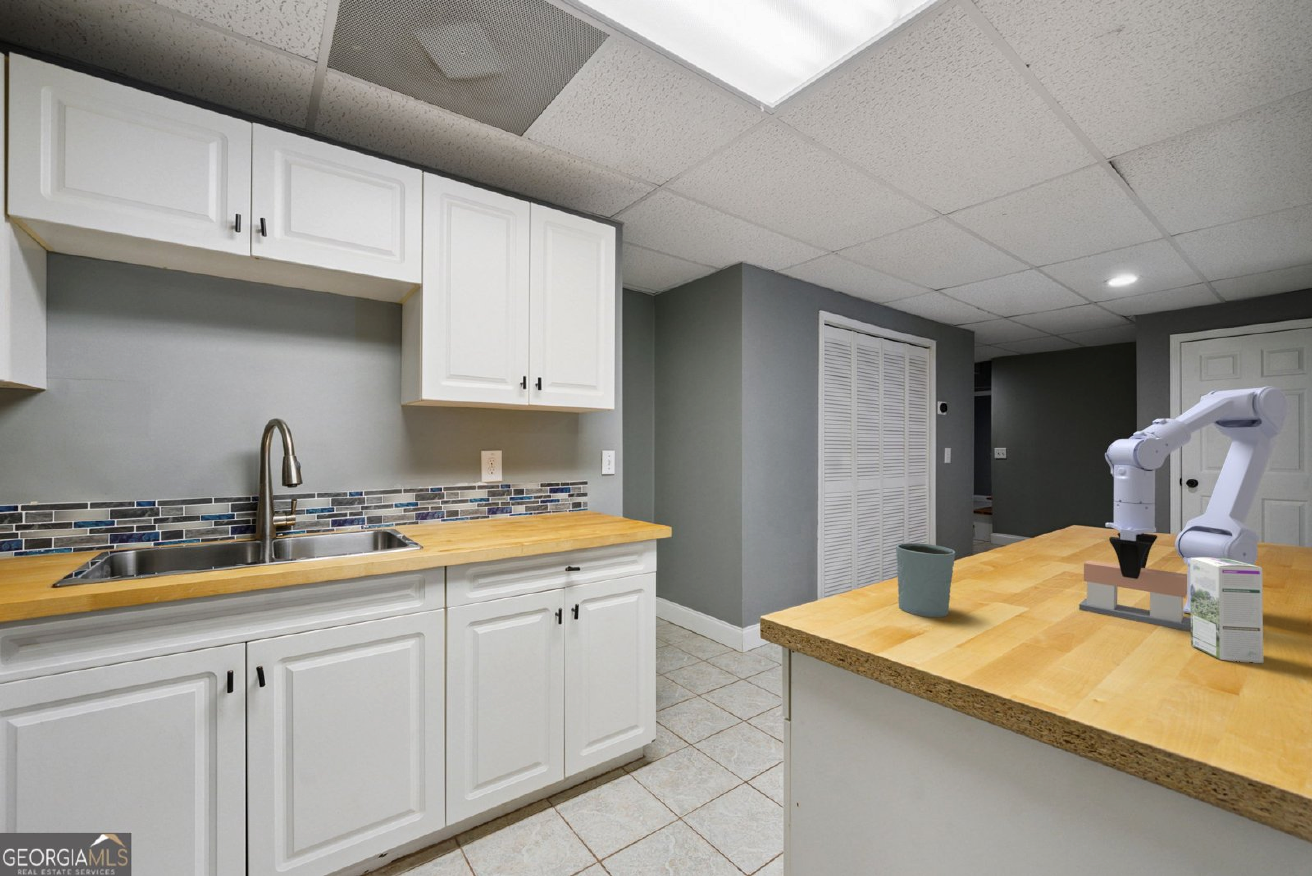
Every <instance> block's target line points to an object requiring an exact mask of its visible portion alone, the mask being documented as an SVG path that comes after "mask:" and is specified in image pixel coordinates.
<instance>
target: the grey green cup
mask: <svg viewBox="0 0 1312 876" xmlns="http://www.w3.org/2000/svg"><path fill="white" fill-rule="evenodd" d="M895 550H896V551H895V552H896V566H897V568H896V570H897V582H898V583H897V587H898V588H897V591H898V599H897V600H898V607H899V609H900V610H901V611H904V613H908V614H912V615H915V616H920V617H926V618H927V617H928V618H941V617H946V616H948V614H949V609H950V600H951V599H950V597H951V587H952V581H953V580H952V579H953V572H954V565H955V559H956V558H955V557H956V551H955V550H953V549H952V548H948V547H946V546H942V545H941V546H940V545H934V544H929V543H928V544H927V543H917V542H912V543H911V542H906V543H905V542H904V543H897V544H896V545H895Z"/></svg>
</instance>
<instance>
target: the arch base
mask: <svg viewBox="0 0 1312 876" xmlns="http://www.w3.org/2000/svg"><path fill="white" fill-rule="evenodd" d="M1118 588H1119V587H1117V586H1111V585H1105V584H1099V583H1093V582H1087V581H1086V598H1085V599H1083V600H1082V601H1081V602H1080V604H1078V607H1079V608H1078V610H1080V611H1086V612H1089V611H1090V613H1095V614H1099V615H1100V614H1101V615H1106V616H1110V615H1112V616H1111V617H1115V618H1119V619H1126V620H1129V621H1130V620H1131V621H1135V620H1136V622H1140V621H1141V623H1145V622H1147V623H1146V624H1150V625H1156V626H1160V625H1162V626H1161V627H1165V626H1166V628H1171V629H1177V630H1181V631H1185V632H1189V631H1190V630H1191V617H1188V616H1184V612H1183V609H1184V598H1183V597H1177V596H1171V595H1165V594H1159V593H1153V592H1149V593H1150V594H1149V609H1145V608H1139V607H1133V606H1129V605H1123V604H1118V590H1119V589H1118Z"/></svg>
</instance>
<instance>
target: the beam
mask: <svg viewBox="0 0 1312 876" xmlns="http://www.w3.org/2000/svg"><path fill="white" fill-rule="evenodd" d="M1083 582H1086V583H1087V582H1093V583H1099V584H1105V585H1111V586H1117V587H1118V588H1125V589H1129V590H1130V589H1131V590H1136V591H1141V592H1142V591H1143V592H1148V593H1150V592H1153V593H1159V594H1165V595H1171V596H1177V597H1183V599H1186V597H1187V586H1188V573H1181V572H1175V571H1166V570H1162V569H1161V570H1159V569H1152V568H1146V567H1145V568H1141V571H1140V575H1139V577H1138V579H1134V578H1127V577H1123V576H1122V573H1121V570H1120V565H1119V563H1118V564H1116V563H1111V562H1103V561H1097V560H1096V561H1095V560H1089V559H1088V560H1086V561H1084V563H1083Z"/></svg>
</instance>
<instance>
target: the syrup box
mask: <svg viewBox="0 0 1312 876" xmlns="http://www.w3.org/2000/svg"><path fill="white" fill-rule="evenodd" d="M1190 587H1191V613H1190V618H1191V626H1190V646H1191V647H1193V648H1195V649H1198V650H1199V651H1201V652H1204V653H1205V654H1208V655H1210V656H1212V657H1214V658H1215V659H1218V660H1220V661H1228V662H1236V661H1237V663H1249V662H1253V663H1252V664H1263V663H1264V629H1263V628H1264V624H1263V622H1264V621H1263V620H1264V619H1263V618H1264V616H1263V615H1264V610H1263V607H1264V606H1263V604H1264V602H1263V599H1264V598H1263V596H1264V595H1263V594H1264V593H1263V590H1264V589H1263V588H1264V587H1263V567H1262V566H1258V565H1255V564H1254V565H1251V564H1247V563H1243V562H1239V561H1235V560H1231V559H1224V558H1212V557H1200V558H1191V559H1190ZM1239 661H1240V662H1239Z"/></svg>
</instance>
